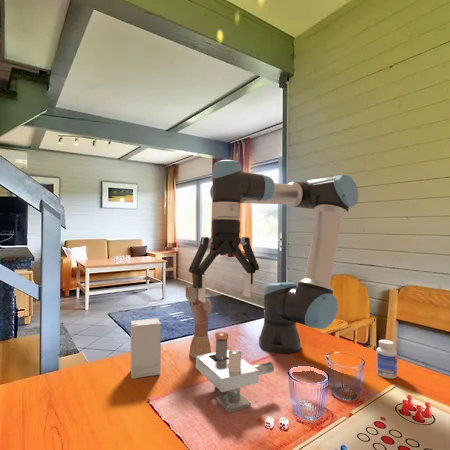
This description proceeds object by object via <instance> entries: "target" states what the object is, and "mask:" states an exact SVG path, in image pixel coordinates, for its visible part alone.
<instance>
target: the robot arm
mask: <svg viewBox="0 0 450 450" xmlns="http://www.w3.org/2000/svg"><path fill="white" fill-rule="evenodd" d="M212 168H213V169H212V177H211V178H212V184H211V187H210V190H209V191H210V192H209V194H210V198H211V199H212V209H211V210H212V211H211V212H212V213H211V216H212V218H213V220H212V221H211V234H212V235H211V237H208V236H201V237H200V243H199V247H198V248H197V251H196V253H195V254H194V258H193V259H192V261H191V264H190V266H189V268H188V272H189V273H190V274H192V273H193V274H195V276H196V288H198V289H199V294H198V300H199V301H201V302H205V299H207V298H206V297H207V296H206V289H207V288H206V286H207V280H206V279H207V277H206V275H205V276H204V275H203V274H205V272H206V271H207V270H208V269H209V267H210V266H211V265H212V263H213V262H214V261H215V259H216V258H217V257H218V256H219V255H226V254H227V255H228V254H229V255H233V256H234V257H235V258H236V260H237V261H238V263H239V264H240V265H241V266H242V268H243V269H244V272H242V279H243V280H242V296H243V297H245V298H251V296H252V295H251V292H252V289H251V288H252V286H251V285H253V283H254V274H255V273H256V271H259V270H260V265H259V264H258V261H257V258H256V256H255V254H254V251H253V249H252V246H251V238H250V237H248V236H242V237H240V233H241V221H240V219H239V218H241V204H260V205H261V204H262V205H264V204H265V205H286V206H287V207H290V208H303V209H308V210H309V209H310V210H314V211H315V213H316V214H317V215H316V220H315V225H314V229H313V233H312V238H311V243H310V248H309V253H308V257H307V262H306V266H305V271H304V275H303V278H302V279H300V280H299V281H298V282H297V283H296V282H290V281H289V282H273V283H272V282H271V283H270V282H269V283H268V284H266V285H265V286H264V293H263V306H264V307H263V310H264V311H263V314H264V315H263V326H262V327H261V328H262V329H261V332H260V335H259V337H258V345H259V348H261V349H263V350H266V351H268V352H271V353H276V354H277V353H278V354H291V353H296V352H299V351H300V350H301V348H302V347H301V339H300V335H299V331H298V328H297V324H300V325H302V326H306V327H308V328H310V329H317V330H324V329H327V328H328V327H329V326H331V325H332V324H333V322H334V321H335V319H336V317H337V314H338V309H339V304H338V299H337V297H336V296H335V295H334V294H333V293H334V289H333V288H332V286H331V284H330V282H331V278H332V272H333V268H334V263H335V259H336V258H335V257H336V253H337V247H338V243H339V237H340V232H341V229H342V228H341V226H342V221H343V219H344V218H345V217H347V216H348V215H349V210H350V208H353V207H355V206H356V205H357V203H358V201H359V190H358V187H357V184H356V182H355V180H354V179H353V178H352V176H350V175H348V174H335V175H331V176H326V177H325V176H324V177H318V178H312V179H308V180H302V181H291V182H290V181H289V182H288V183H279V182H276V183H275V182H274V180H273V178H272V177H270V176H269V175H265V174H261V173H260V174H259V173H253V172H247V171H243V170H242V165H241V162H239V161H237V160H231V159H222V160H218V161H216V162H215V163H214V164H213V167H212ZM210 245H212V248H211V249H210V251H209V253H208V254H207V255H206V253H207V251H208V247H209V246H210ZM240 245H241V247H242V249H243V252H244V253H243V252H242V250H241V248H240V247H239V246H240ZM205 255H206V256H205ZM204 257H205V258H204ZM202 260H203V261H202Z"/></svg>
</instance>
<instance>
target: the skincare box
mask: <svg viewBox="0 0 450 450" xmlns="http://www.w3.org/2000/svg"><path fill="white" fill-rule="evenodd" d="M161 330H162V323H161V321H160V320H159V318H157V317H156V318H148V319H138V320H130V376H131V379H132V380H133V379H139V378H146V377H152V376H159V375H160V376H161V373H162V372H161V370H162V369H161V368H162V367H161V363H162V362H161V361H162V360H161V355H162V354H161V353H162V351H161V349H162V348H161V347H162V345H161V343H162V341H161V339H162V337H161V336H162V335H161V334H162V331H161Z"/></svg>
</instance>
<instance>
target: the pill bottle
mask: <svg viewBox="0 0 450 450" xmlns="http://www.w3.org/2000/svg"><path fill="white" fill-rule="evenodd" d="M375 351H376V352H375V353H376V374H377V375H378V376H379V377H382V378H385V379H391V380H392V379H396V378H397V376H398V353H397V350H396V349H395V342H394V341H392V340H388V339H380V340H378V347H377V348H376V350H375Z"/></svg>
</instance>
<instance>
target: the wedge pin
mask: <svg viewBox="0 0 450 450" xmlns="http://www.w3.org/2000/svg"><path fill="white" fill-rule="evenodd" d="M214 337H215V352H216V358H215V362H218V361H223V360H227V350H228V339H229V333H228V332H225V331H224V332H223V331H218V332H216V333H215V335H214ZM214 390H216V391H220V390H219V389H218V388H217V387H216V386H215V385H214ZM220 392H221V391H220Z"/></svg>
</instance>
